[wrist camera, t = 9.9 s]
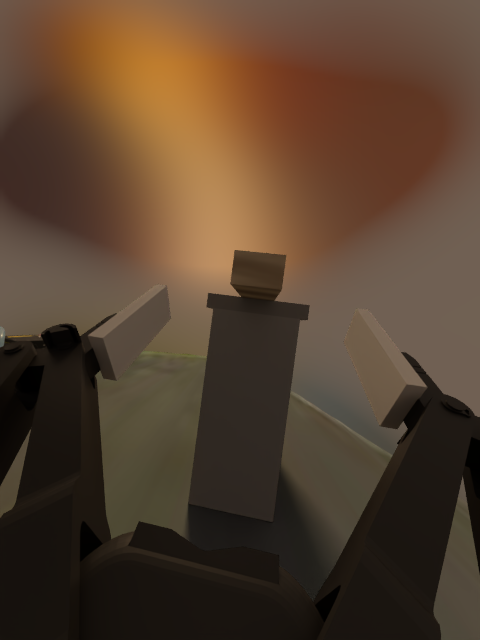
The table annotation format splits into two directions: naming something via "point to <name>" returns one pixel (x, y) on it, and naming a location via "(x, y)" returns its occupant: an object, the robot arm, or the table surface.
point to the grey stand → (245, 404)
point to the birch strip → (258, 274)
